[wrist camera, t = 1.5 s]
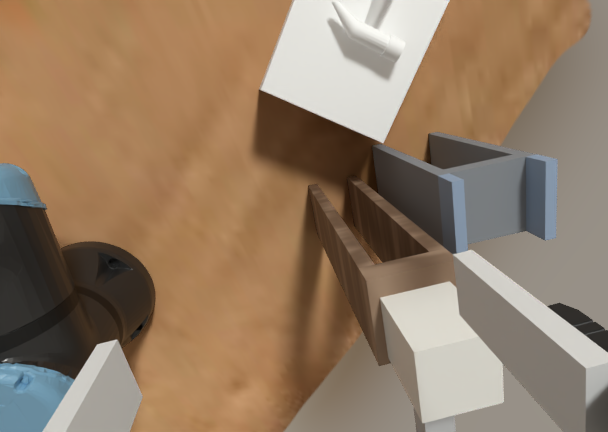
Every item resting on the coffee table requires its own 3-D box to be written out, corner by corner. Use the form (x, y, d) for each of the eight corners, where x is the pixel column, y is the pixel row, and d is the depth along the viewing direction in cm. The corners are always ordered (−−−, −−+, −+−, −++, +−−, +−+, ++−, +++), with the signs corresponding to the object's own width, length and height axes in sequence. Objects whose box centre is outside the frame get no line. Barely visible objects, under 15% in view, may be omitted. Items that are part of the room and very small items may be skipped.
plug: (400, 446, 32) (433, 524, 26) (379, 297, 27) (414, 352, 22) (461, 430, 32) (506, 504, 26) (449, 281, 28) (501, 330, 22)
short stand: (378, 196, 55) (457, 260, 34) (372, 145, 53) (451, 182, 32) (441, 182, 56) (555, 237, 35) (437, 131, 53) (557, 159, 32)
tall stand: (317, 233, 55) (379, 365, 29) (308, 185, 53) (366, 280, 27) (362, 223, 56) (464, 344, 29) (355, 175, 54) (458, 259, 27)
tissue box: (258, 89, 49) (261, 89, 39) (342, -134, 43) (371, -203, 33) (362, 134, 52) (390, 145, 42) (452, -67, 47) (510, -112, 36)
